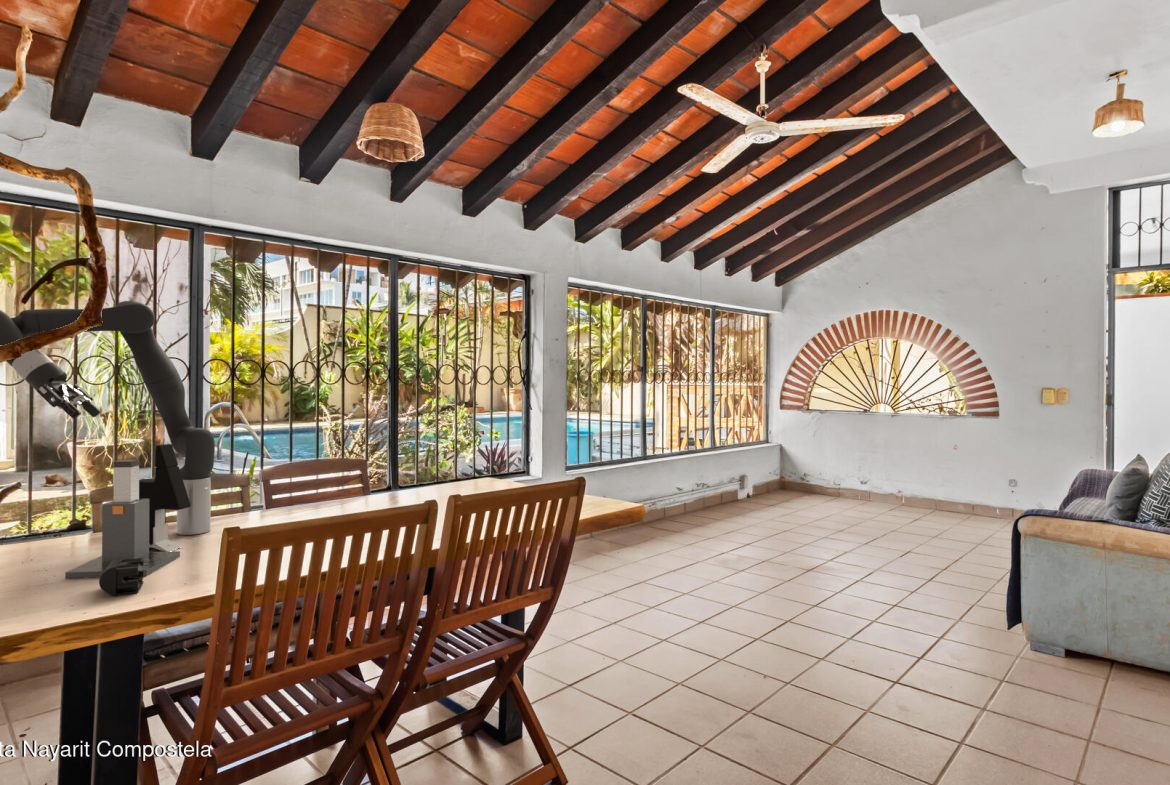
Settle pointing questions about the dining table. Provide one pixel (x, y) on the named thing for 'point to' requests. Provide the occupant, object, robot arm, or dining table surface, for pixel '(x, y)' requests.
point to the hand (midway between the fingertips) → (87, 415)
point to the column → (126, 481)
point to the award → (163, 496)
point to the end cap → (122, 577)
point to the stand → (124, 540)
